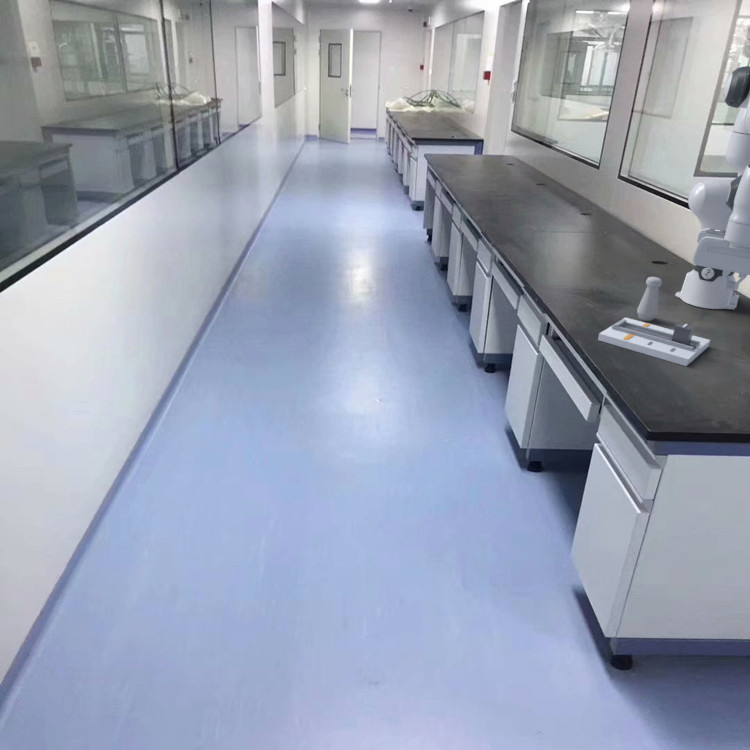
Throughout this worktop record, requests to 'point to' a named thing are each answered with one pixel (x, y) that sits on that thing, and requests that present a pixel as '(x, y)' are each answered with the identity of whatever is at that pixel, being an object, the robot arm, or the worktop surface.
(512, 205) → the worktop surface
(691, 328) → the fader tab
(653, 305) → the salt shaker
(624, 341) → the console
